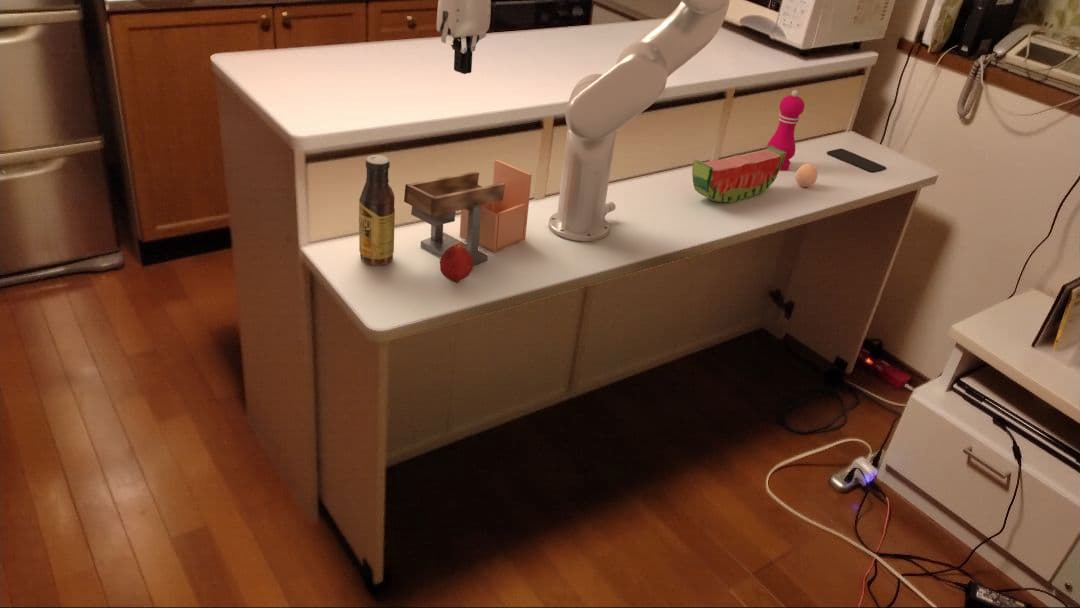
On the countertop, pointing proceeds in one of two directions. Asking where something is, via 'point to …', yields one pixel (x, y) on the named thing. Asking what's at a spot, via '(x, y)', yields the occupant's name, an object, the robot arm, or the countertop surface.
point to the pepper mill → (787, 126)
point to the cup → (503, 210)
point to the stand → (444, 241)
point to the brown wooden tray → (449, 196)
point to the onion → (456, 263)
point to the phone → (856, 160)
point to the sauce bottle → (376, 214)
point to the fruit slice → (737, 175)
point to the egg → (806, 175)
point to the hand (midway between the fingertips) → (462, 71)
